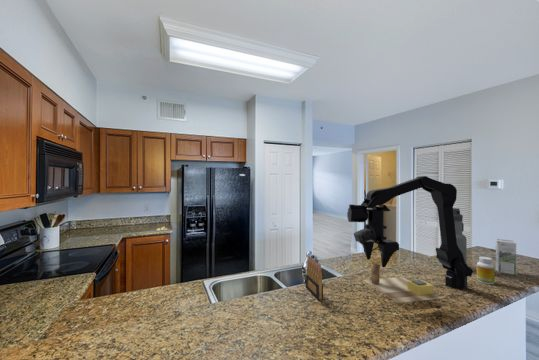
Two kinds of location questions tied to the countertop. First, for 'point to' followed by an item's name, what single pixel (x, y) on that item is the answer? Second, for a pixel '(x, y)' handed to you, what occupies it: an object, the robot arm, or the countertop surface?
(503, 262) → the syrup box
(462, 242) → the water bottle
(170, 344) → the countertop surface
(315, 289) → the ammunition clip
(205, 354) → the countertop surface
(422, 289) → the block
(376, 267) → the wooden tool handle
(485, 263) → the supplement bottle
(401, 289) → the plywood panel
